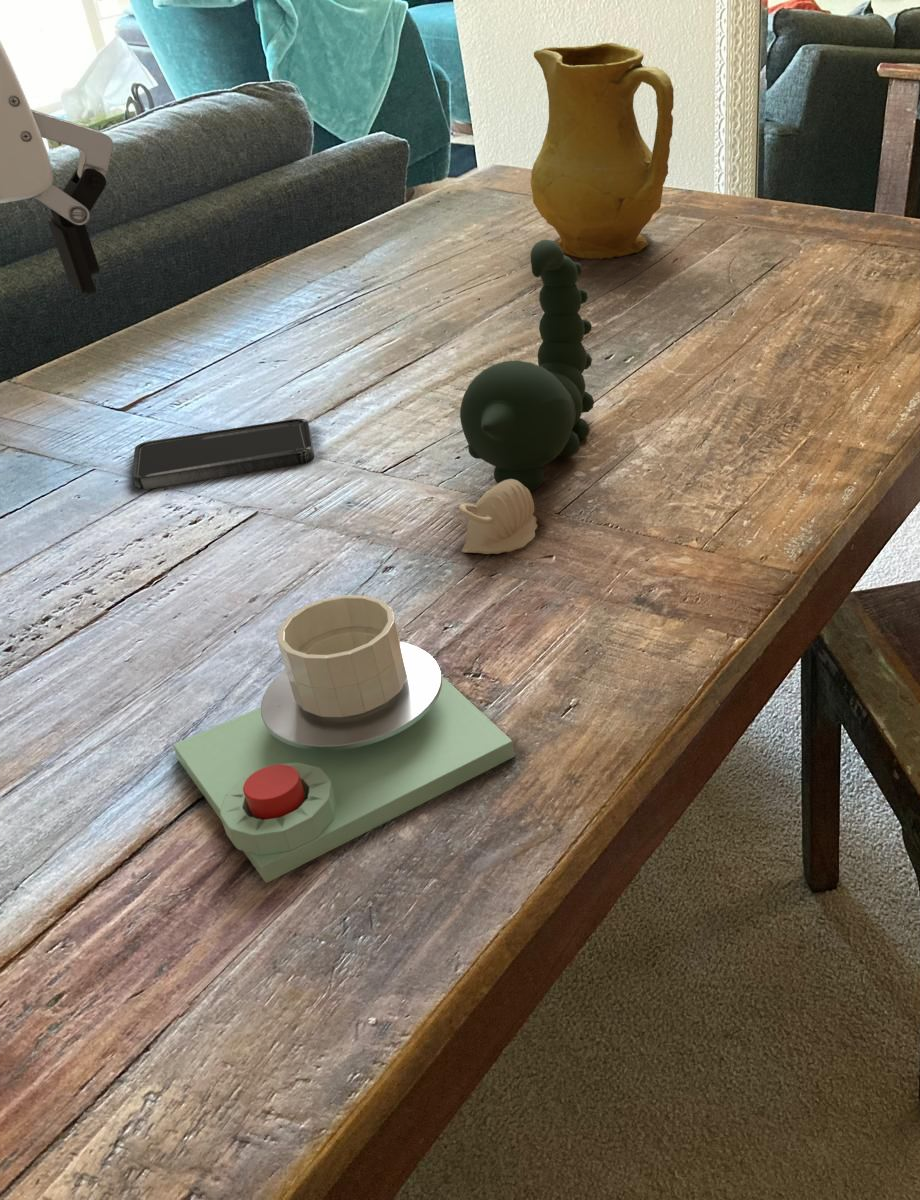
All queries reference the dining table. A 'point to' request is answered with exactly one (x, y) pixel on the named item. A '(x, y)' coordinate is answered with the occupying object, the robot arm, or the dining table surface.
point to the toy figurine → (535, 384)
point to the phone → (222, 453)
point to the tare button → (274, 791)
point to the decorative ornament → (500, 519)
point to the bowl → (342, 655)
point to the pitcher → (600, 149)
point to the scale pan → (357, 730)
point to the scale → (338, 778)
